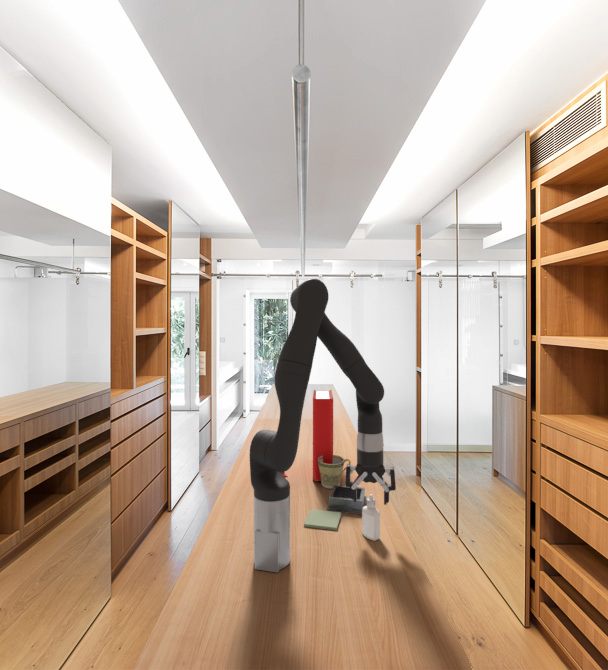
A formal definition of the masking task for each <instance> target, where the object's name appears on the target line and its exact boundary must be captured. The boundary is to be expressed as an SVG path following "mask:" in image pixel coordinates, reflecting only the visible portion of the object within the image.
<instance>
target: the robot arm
mask: <svg viewBox="0 0 608 670" xmlns="http://www.w3.org/2000/svg"><path fill="white" fill-rule="evenodd" d="M289 300H290V306H291V308H292V309H293V311H294V312H295V314H294V319H293V323H292V326H291V329H290V331H289V333H288V335H287V337H286V339H285V341H284V344H283V346H282V348H281V351H280V353H279V357H278V361H277V364H276V368H275V374H274V379H273V380H274V383H273V384H274V388H275V393H276V396H277V400H278V405H279V420H278V426H277V431H275V430H271V429H261V430H259V431H258V432H256V433H255V434H254V435H253V437H252V439H251V441H250V446H249V470H250V471H249V472H250V473H249V474H250V483H251V486H252V488H253V562H254V569H255V570H259V571H264V572H270V573H279V572H280V570H283V569H284V568H286V567H288V565H289V564H290V561H291V486H290V485H291V484H290V481H288V480H287V477H286V478H284V477H283V475H282V474H281V473H280V472H287V471H289V469H291V467H292V466H293V464H294V462H295V461H296V457H297V454H298V453H297V452H298V446H299V439H300V430H301V423H302V415H303V409H304V406H305V405H304V403H305V398H306V394H307V389H308V385H309V382H310V378H311V377H310V376H311V373H312V367H313V362H314V357H315V352H316V347H317V341H318V339H319V340H320V342H321V343H322V344H323V345H324V346H325V348H326V349H327V351H329V354H330V355H331V357H332V358H333V359H334V361H335V362H336V363H337V365H338V367H339V368H340V370H341V371H342V373H343V374H344V375H345V376H346V377H347V379H349V381H350V382H351V384H352V385H353V387H354V389H355V399H356V408H357V433H356V434H357V435H356V465H351V463H350V464H349V463H347V464H346V467H345V468H346V469H345V478H344V479H345V484H344V486H346V487H350V488H351V489H352V500H354V502H357V487H358V486H359V485H361V483H362V482H364V483H373V484H376V483H378V484H379V486H380V487H382V489H383V494H384V495H383V504H384V505H385V506H386V505H387V504H389V502H390V492H391V491H393V492H394V491H396V489H397V488H396V473H395V467H394V466H390V467H385V465H384V446H385V444H384V434H383V415H382V413H381V410H380V402H381V401H382V400H383V399H384V396H385V388H384V386H383V383H382V382H381V381H380V379H379V378H378V377H377V375H376V374H375V373H374V372H373V370H372V369H371V367H369V365H368V364H367V362H366V361H365V359H364V357H363V355H362V354H361V353H360V351H359V350H358V348H357V347H356V345H355V344H354V342H352V340H351V339H350V338H349V337H348V336H347V335H346V334H345V333H343V332H342V331H341V330H340V329H339V328H337V327H336V325H335V324H334V323H333V321H331V320H330V318H329V317H328V315H327V314H326V313H325V312H326V309H327V305H328V303H329V290H328V287H327V286H326V284H325V282H323V281H322V280H320V279H317V278H310V279H306V280H304V281H303V282H301V283H300V284H299V285H297V287H296V288H295V289H294V290H293V291H292V293H291V295H290V297H289ZM354 471H355V473H357V477H356V478H355V479H354V480H353V481H351V474H353V473H354ZM386 473H387V474H386ZM385 474H386V475H387V476H388V477H390V484H388V482H387V481H386V480H385V478H384V477H383V476H384V475H385Z"/></svg>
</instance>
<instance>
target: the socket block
mask: <svg viewBox="0 0 608 670" xmlns="http://www.w3.org/2000/svg"><path fill="white" fill-rule="evenodd" d="M367 497H368V496H367V495H366V488H365V487H361V486H360V487H358V486H357V502H354V500H352V489H351V488H350V487H346V486H345V485H334V486H333V488H332V489H331V492H330V493H329V496H328V503H327V507H326V511H333V512H341V513H346V512H347V513H348V514H355V513H358V514H359V515H362V508H363V507H364V506H366V505H367V499H368V498H367ZM365 504H366V505H365ZM358 514H357V515H358Z"/></svg>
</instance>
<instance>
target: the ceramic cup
mask: <svg viewBox="0 0 608 670" xmlns="http://www.w3.org/2000/svg"><path fill="white" fill-rule="evenodd" d="M346 462H348V464H350V465H351V461H350V459H349V458H344V457H342V456H340V455H336V454H333V462H332V464H326V463H323V456H320V457H319V458H318V465H319V470H320V476H321V481H320V482H321V483H320V484H321V485H322V487H323V488H325V489H331V490H332V489H333V486H334V485H339V486H341V479H342V474H343V473H344V472H346V467H344V464H345V463H346Z"/></svg>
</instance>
